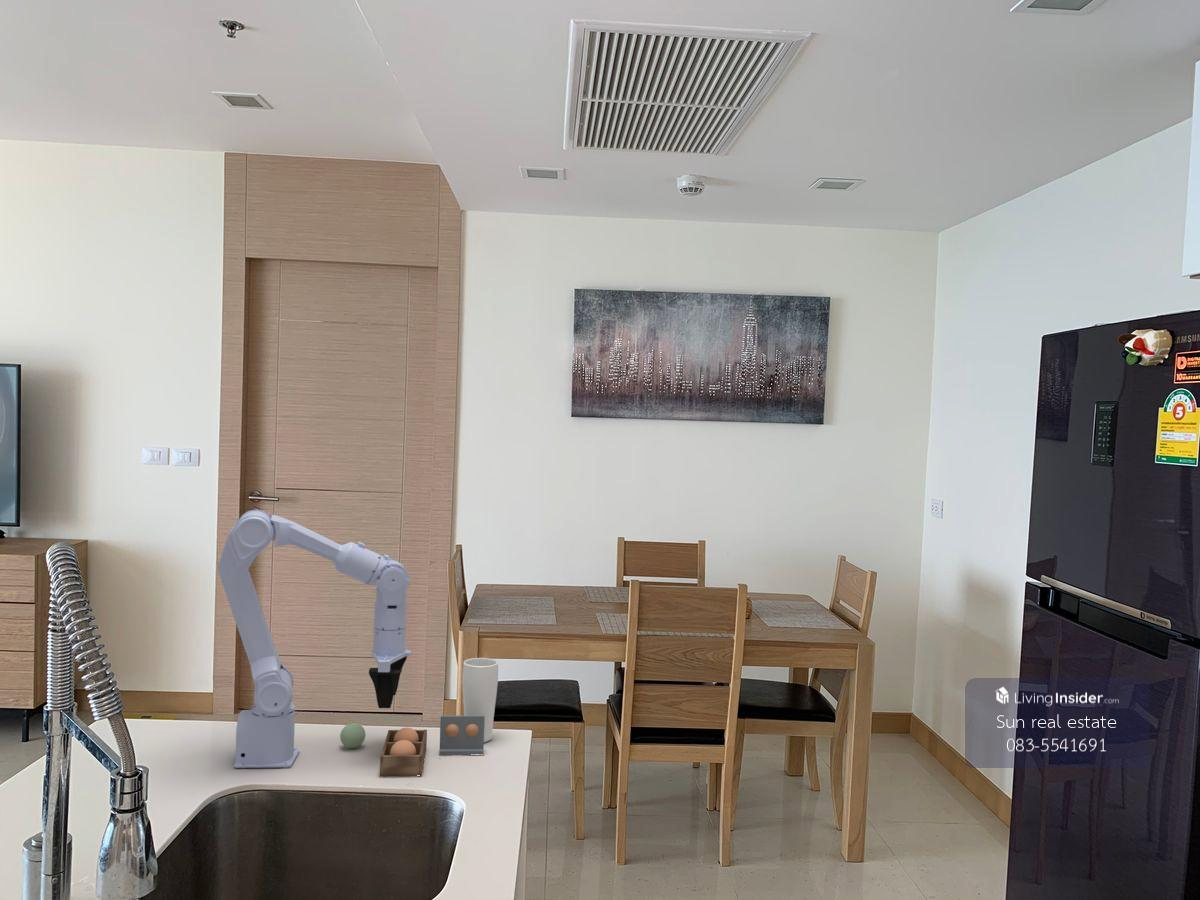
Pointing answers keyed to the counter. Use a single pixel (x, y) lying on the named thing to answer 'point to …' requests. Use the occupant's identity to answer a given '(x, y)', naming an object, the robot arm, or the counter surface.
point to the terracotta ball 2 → (403, 748)
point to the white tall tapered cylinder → (480, 690)
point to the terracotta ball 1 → (406, 735)
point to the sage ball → (352, 735)
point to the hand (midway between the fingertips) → (387, 701)
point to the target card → (462, 735)
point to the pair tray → (403, 757)
